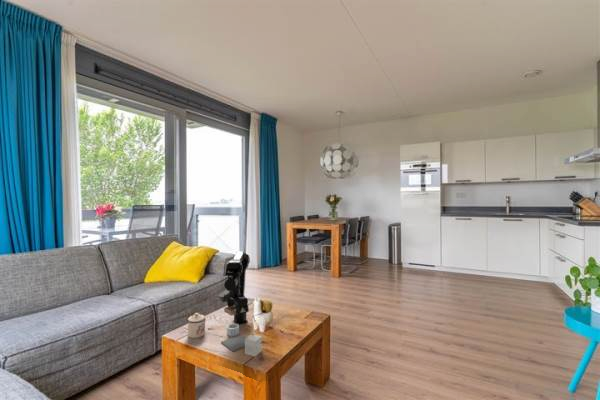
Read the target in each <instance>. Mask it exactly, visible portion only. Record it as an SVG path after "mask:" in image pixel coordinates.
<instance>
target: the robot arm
mask: <svg viewBox="0 0 600 400" xmlns="http://www.w3.org/2000/svg"><path fill="white" fill-rule="evenodd" d="M250 263H251V259H250V255H249V254H247V253H246V252H245V251H244V250H241V251H239V250H238V251H236V253H235V255H234V257H233V259H230V260H228V262H227V264H226V268H225V274H224V275H225V277H226V276H227V278H226V280H225V281H224V288H225V290H223V291H222V292H220V293H219V294H218V295H217V296H218V299H219V301H220V302H222V303H225V302H226V306H227V307H229V306H233V305H235V306H236V314H235V315H233V320H232V321H233V323H234V324H239V325H242V324H244V323H248V319H247V313H249V310H250V309H249V304H248V303H249V299H248V298H247V297H246V295H245V289H246V288H245V287H246V286H245V285H246V271H247V269H248V268H249V264H250ZM242 308H244V312H242V313H240V312H241V310H242Z"/></svg>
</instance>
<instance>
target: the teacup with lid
mask: <svg viewBox="0 0 600 400" xmlns="http://www.w3.org/2000/svg"><path fill="white" fill-rule="evenodd" d="M187 325H188V326H187V336H188V337H189V338H190V339H197V338H198V339H199V338H201V337H203V336H205V332H206V316H205V315H203V314H200V313H198V312H195V313H194V314H193V315H191V316H189V317H188V318H187Z"/></svg>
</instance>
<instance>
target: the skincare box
mask: <svg viewBox="0 0 600 400" xmlns="http://www.w3.org/2000/svg"><path fill="white" fill-rule="evenodd" d="M262 351H263V336H262V335H258V334H254V333H251V334H250V335H248V336H247V337H246V339H245V347H244V354H245V355H247V356H250V357H251V356H252V357H257V356H258V355H259V354H260V353H261V352H262Z"/></svg>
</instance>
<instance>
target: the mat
mask: <svg viewBox="0 0 600 400" xmlns="http://www.w3.org/2000/svg"><path fill="white" fill-rule="evenodd" d="M246 338H247V337H246V336H244V335H243V334H240V333H239V334H238V335H236V336H231V337H230V338H227V339H224V340H221V341H220V343H221V344H222V345H223V346H224V347H226V348H227V349H228V350H230V351H231V352H237V351H239V350H242V349H245V339H246Z"/></svg>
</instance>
